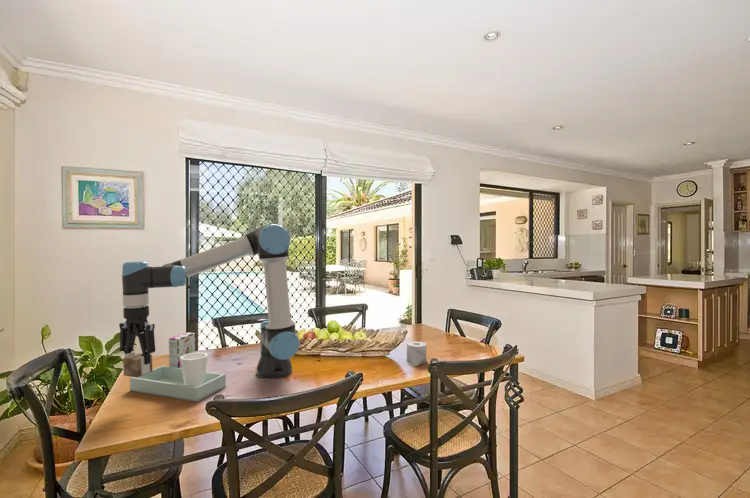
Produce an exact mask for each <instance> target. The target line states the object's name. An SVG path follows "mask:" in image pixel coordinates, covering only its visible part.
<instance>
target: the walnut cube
mask: <svg viewBox="0 0 750 498" xmlns="http://www.w3.org/2000/svg"><path fill="white" fill-rule="evenodd" d="M142 354H143V353H142V352H139V353H135V355H132V356H129V357H126V358H125V357H124V358H122V360H123V361H122V363H123V376H125V377H130V378H131V377H139V376H142V374H141V355H142ZM152 370H153V355H152V353H151V354H150V372H152ZM150 372H148V373H150ZM146 374H147V373H146ZM143 375H145V374H143Z"/></svg>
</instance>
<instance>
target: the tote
mask: <svg viewBox="0 0 750 498" xmlns="http://www.w3.org/2000/svg"><path fill="white" fill-rule="evenodd" d="M226 376H227V375H226V373H220V372H219V373H218V372H211V371H206V373H205V381H204V384H202V385H200V386H198V387H195V386H188V385H184V380H183V373H182V368H176V367H169V366H168V365H161V366H158V367H156V368H152V372H150V373H147V374H145V375H142V376H139V377H130V378H129V391H130V392H134V393H141V394H147V395H154V396H160V397H165V398H171V399H177V400H182V401H189V402H195V403H198V402H200V401H201V400H203V399H206V398H207V397H209V396H212V395H213V394H215V393H217V392H219V391H221V390H222V389H224V388H226V387H227V386H226V383H227V381H226V380H227V378H226Z"/></svg>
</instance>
